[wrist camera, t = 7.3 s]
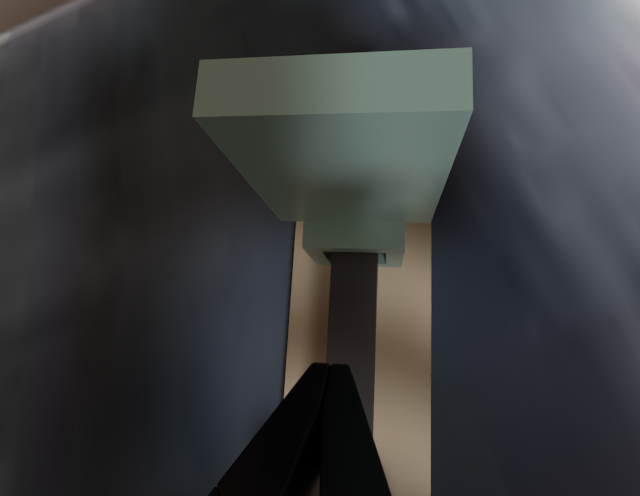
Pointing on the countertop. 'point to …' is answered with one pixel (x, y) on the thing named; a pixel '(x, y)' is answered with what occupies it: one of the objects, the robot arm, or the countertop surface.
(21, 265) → the countertop surface
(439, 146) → the grey-green notched block
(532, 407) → the countertop surface
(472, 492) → the countertop surface
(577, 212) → the countertop surface
